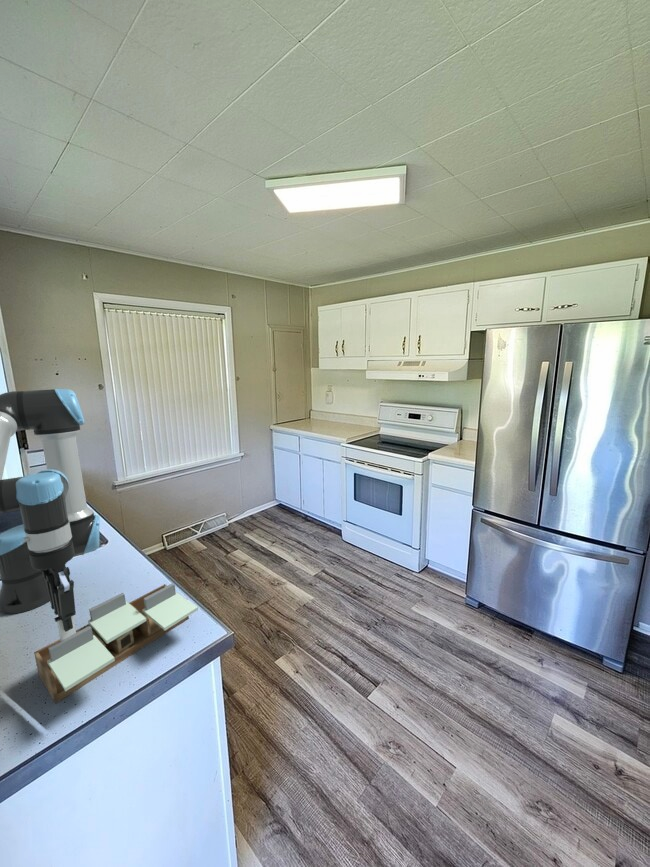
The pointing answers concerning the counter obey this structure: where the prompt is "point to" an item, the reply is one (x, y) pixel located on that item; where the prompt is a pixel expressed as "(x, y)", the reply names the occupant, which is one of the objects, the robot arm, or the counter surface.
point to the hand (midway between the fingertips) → (69, 639)
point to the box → (141, 636)
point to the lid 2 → (114, 618)
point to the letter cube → (122, 642)
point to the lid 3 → (167, 607)
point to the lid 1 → (78, 658)
